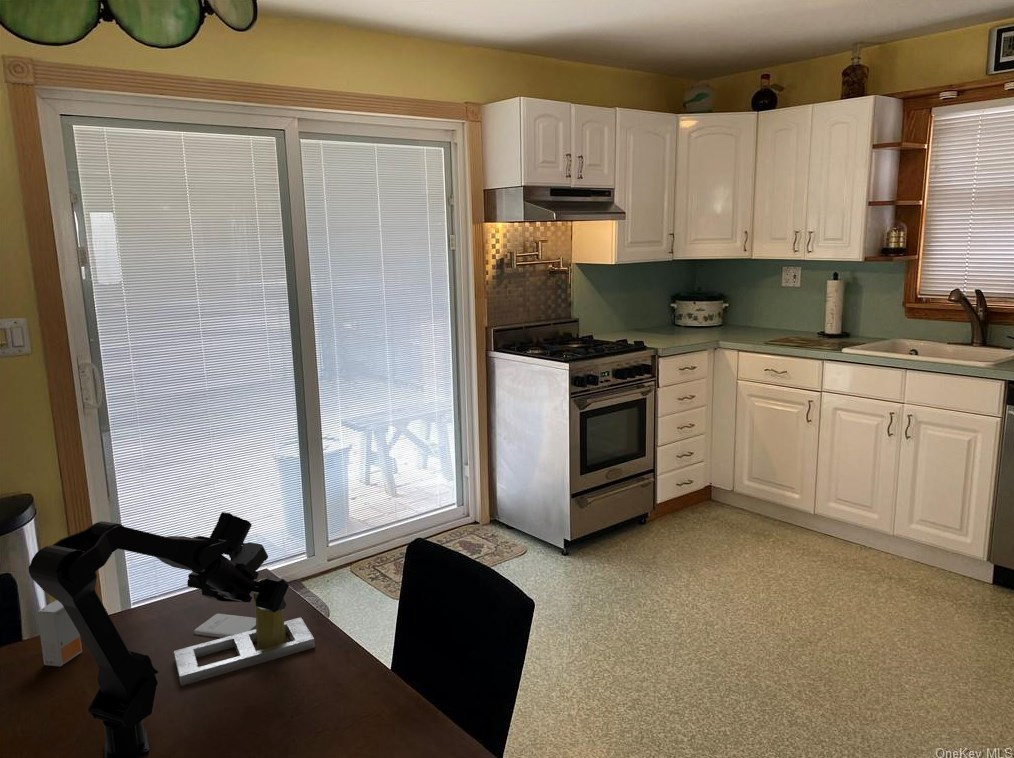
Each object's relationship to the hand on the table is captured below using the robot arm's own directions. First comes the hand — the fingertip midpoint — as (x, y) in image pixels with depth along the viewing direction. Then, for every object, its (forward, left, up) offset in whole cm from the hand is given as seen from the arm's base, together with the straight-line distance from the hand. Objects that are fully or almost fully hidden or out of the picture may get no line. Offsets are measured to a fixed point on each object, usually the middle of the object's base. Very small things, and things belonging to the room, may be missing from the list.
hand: (267, 603), depth 154 cm
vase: (0, 0, -10) cm, 10 cm away
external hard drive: (+13, +6, -11) cm, 18 cm away
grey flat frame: (0, +5, -10) cm, 11 cm away
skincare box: (+19, +38, -10) cm, 44 cm away
